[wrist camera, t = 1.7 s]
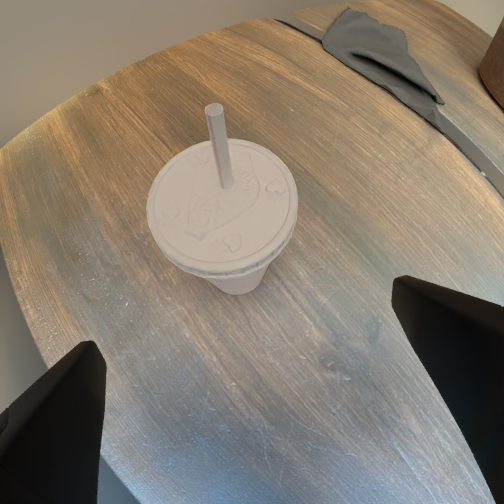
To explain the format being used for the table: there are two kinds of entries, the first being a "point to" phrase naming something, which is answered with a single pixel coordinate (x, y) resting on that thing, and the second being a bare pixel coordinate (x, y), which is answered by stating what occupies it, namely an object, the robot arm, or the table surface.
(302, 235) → the table surface
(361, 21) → the cloth
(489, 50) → the planter
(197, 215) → the smoothie
